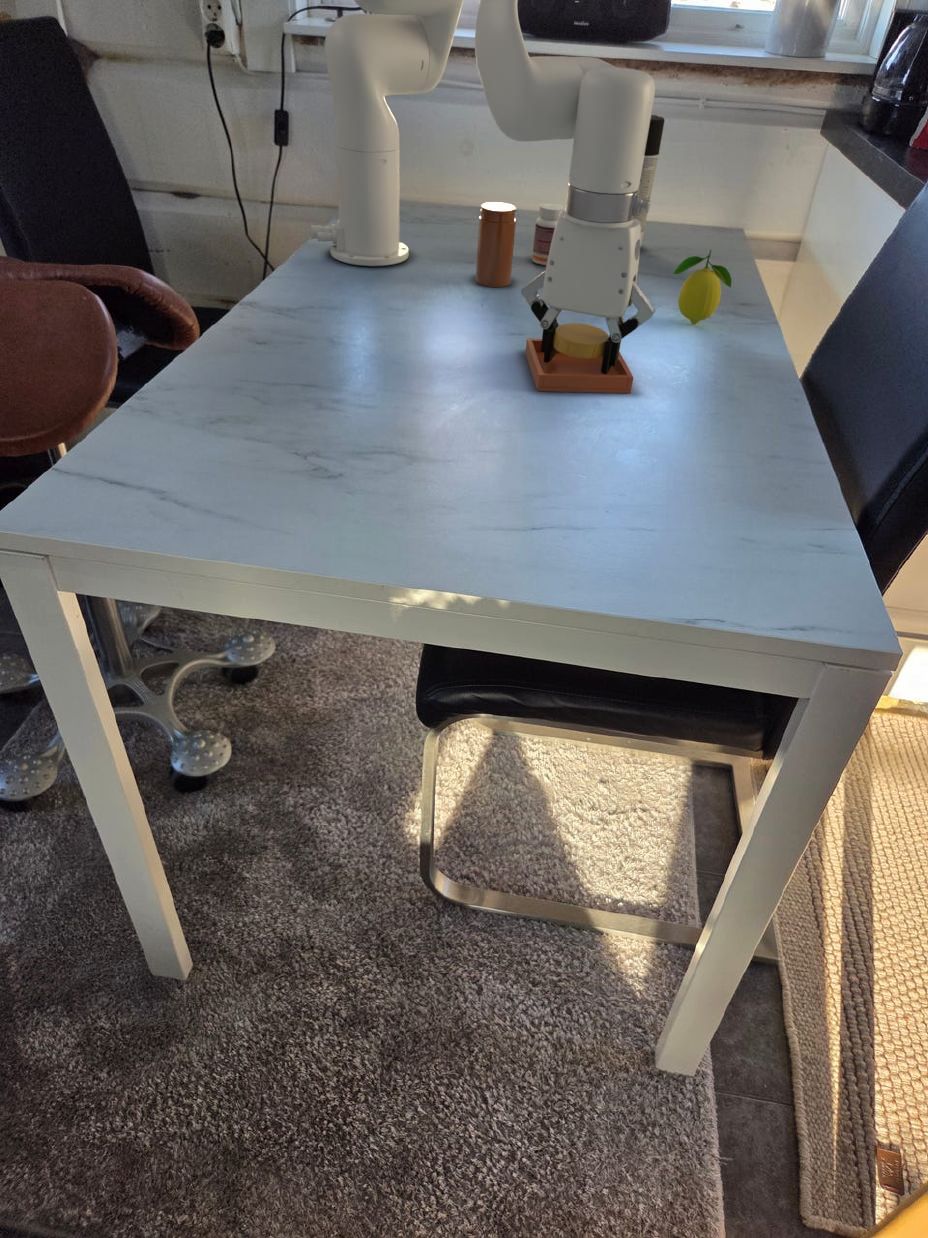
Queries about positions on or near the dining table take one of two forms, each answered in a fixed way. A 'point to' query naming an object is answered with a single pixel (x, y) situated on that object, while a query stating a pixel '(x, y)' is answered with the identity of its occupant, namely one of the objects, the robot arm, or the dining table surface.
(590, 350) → the jar lid
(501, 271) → the brown jar
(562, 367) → the tray
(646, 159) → the spray can
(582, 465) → the dining table surface
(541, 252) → the pill bottle
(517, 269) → the dining table surface
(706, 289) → the lemon
